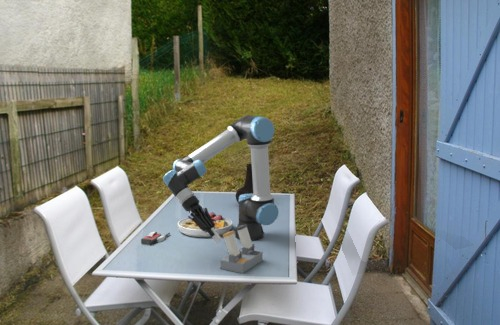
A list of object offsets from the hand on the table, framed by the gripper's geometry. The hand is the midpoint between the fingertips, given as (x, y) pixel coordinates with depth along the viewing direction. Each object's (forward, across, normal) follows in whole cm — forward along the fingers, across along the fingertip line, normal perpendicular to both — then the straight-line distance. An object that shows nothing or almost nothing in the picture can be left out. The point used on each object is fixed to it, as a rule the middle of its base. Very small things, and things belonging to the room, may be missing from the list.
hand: (219, 240), depth 235 cm
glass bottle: (-22, -110, -38) cm, 118 cm away
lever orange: (+10, 0, +2) cm, 10 cm away
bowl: (-17, -44, -34) cm, 58 cm away
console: (+14, -6, -2) cm, 15 cm away
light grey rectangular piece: (+10, -12, +2) cm, 16 cm away
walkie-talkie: (-26, -17, -43) cm, 53 cm away
